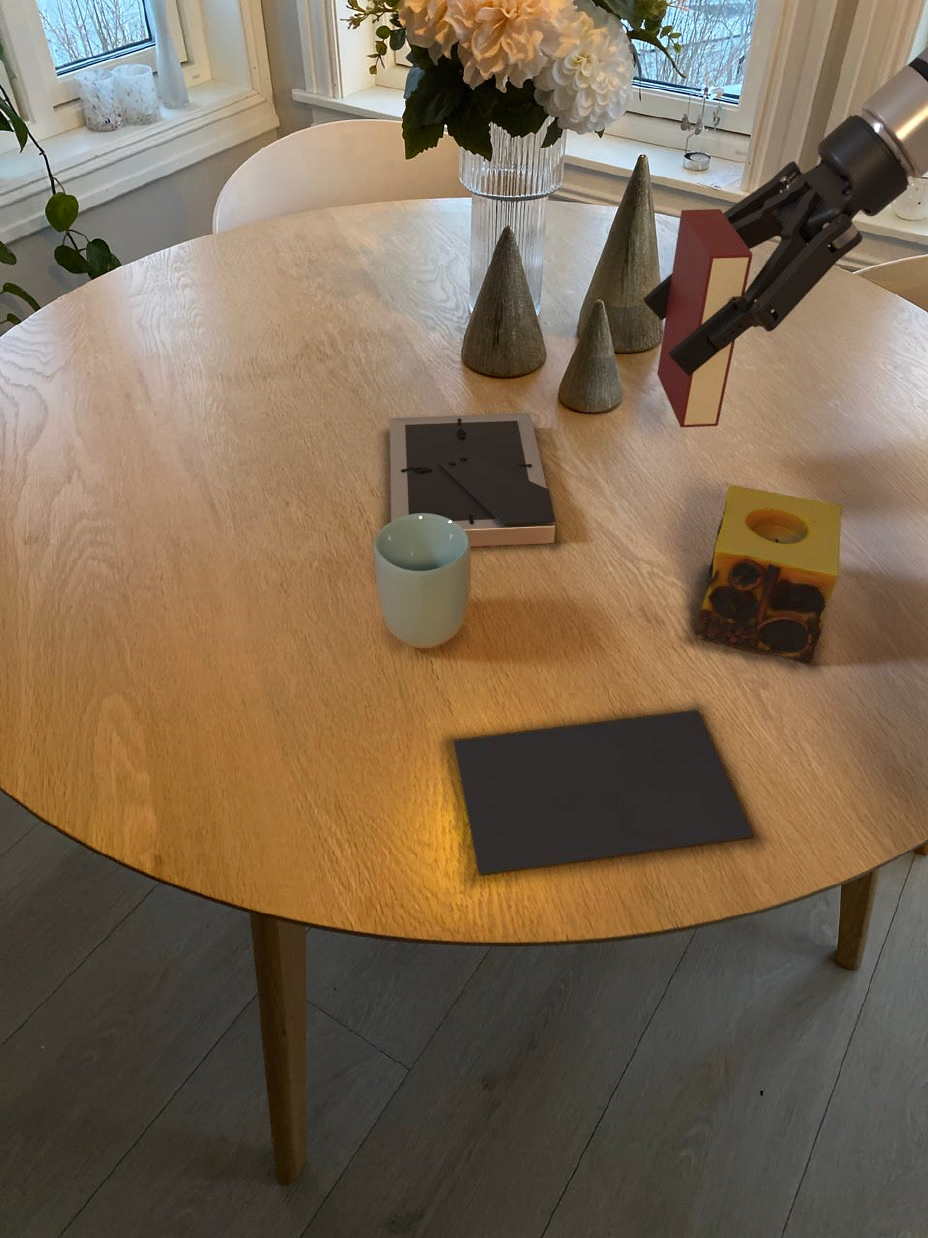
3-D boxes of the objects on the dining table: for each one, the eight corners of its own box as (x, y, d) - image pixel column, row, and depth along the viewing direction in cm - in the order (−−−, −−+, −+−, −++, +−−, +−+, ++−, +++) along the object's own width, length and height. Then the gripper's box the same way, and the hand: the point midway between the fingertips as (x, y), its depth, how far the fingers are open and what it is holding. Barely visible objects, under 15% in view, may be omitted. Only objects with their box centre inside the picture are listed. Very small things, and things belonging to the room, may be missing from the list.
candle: (811, 667, 81) (842, 578, 75) (691, 640, 84) (712, 551, 77) (819, 592, 88) (848, 504, 82) (708, 569, 91) (728, 482, 84)
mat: (697, 713, 78) (698, 710, 77) (753, 837, 69) (753, 835, 69) (453, 743, 75) (453, 740, 75) (479, 875, 67) (479, 873, 67)
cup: (487, 629, 85) (489, 541, 78) (423, 675, 81) (419, 585, 74) (426, 588, 89) (423, 501, 82) (363, 630, 85) (353, 541, 78)
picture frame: (553, 543, 94) (529, 428, 109) (555, 520, 92) (530, 406, 107) (392, 550, 93) (390, 433, 108) (391, 526, 91) (389, 411, 106)
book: (657, 374, 95) (681, 209, 84) (691, 372, 96) (720, 208, 85) (680, 427, 88) (710, 255, 77) (718, 426, 88) (753, 253, 77)
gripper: (969, 233, 71) (721, 426, 81) (856, 138, 87) (662, 308, 97) (922, 158, 67) (668, 371, 77) (813, 74, 84) (616, 257, 93)
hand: (664, 335), depth 87 cm, fingers closed on book, 10 cm apart
